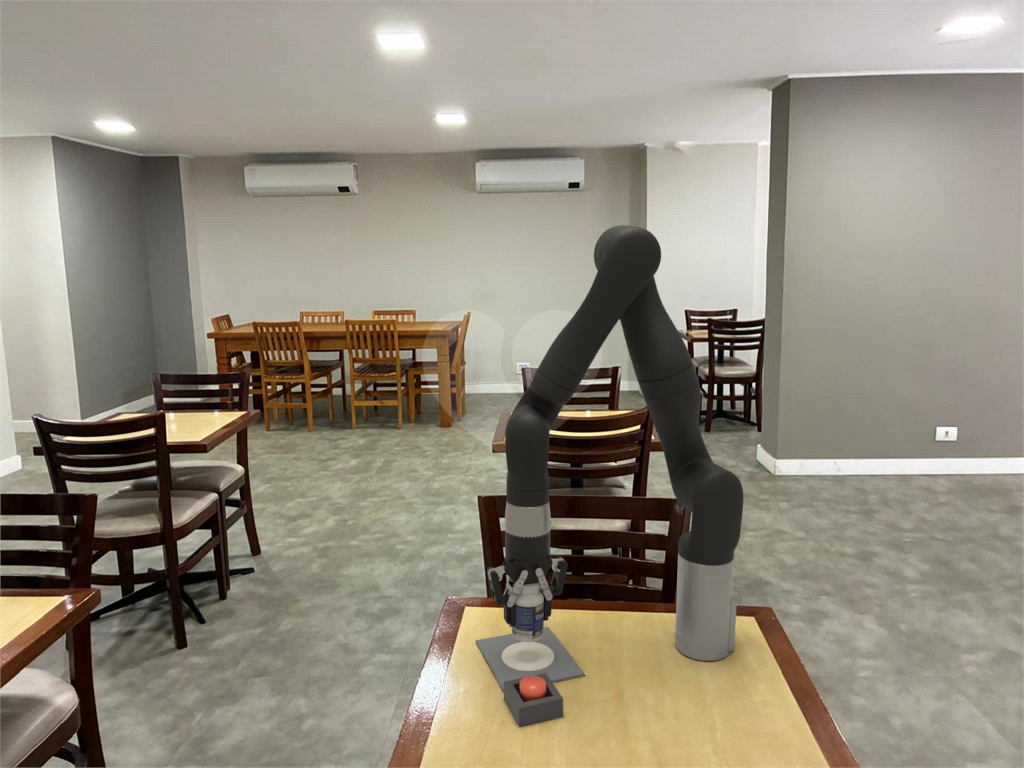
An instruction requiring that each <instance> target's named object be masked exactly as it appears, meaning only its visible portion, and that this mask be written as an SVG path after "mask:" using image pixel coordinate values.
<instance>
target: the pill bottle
mask: <svg viewBox="0 0 1024 768" xmlns="http://www.w3.org/2000/svg"><path fill="white" fill-rule="evenodd" d="M514 606H515V626H514V627H511V634H512V635H513V637H514V638H515V639H517V640H519V641H522V642H534V641H537V640H539V639H541V638H542V636H543V628H544V624H545V623H544V622H545V621H544V597H543V594H542V593H541V592H540V584H539V583H533V584H526V585H523V586H522V588H521V591H520V593H519V595H517V597H516V600H515V602H514Z"/></svg>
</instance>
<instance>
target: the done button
mask: <svg viewBox="0 0 1024 768" xmlns="http://www.w3.org/2000/svg"><path fill="white" fill-rule="evenodd" d="M520 698H521V699H522V700H523V701H524V702H527V701H532V700H537V699H541V698H546V681H545V680H544V679H543V678H541V677H539V676H527V677H524V678H522V679H521V681H520Z"/></svg>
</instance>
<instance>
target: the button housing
mask: <svg viewBox="0 0 1024 768" xmlns="http://www.w3.org/2000/svg"><path fill="white" fill-rule="evenodd" d="M534 676H539V677H541V678H543V679H544V680H545V681H546V698H541V699H537V700H532V701H527V702H524V701H523V700H522V699H521V698H520V681H521V679H522V678H519V679H514V680H510V681H505V682H504V693H503V701H504V702H505V704H506V706H507V708H508V710H509V712H510V713H511V715H512V716H513V719H514V721H515V722H516V724H517V726H518V727H519V728H520V727H525V726H528V725H529V726H530V725H533V724H538V723H541V722H547V721H550V720H555V719H560V718H564V697H563V695H561V693H560V692H559V690H558V689H557V687H556V686H555V685H554V683H552V681H551V680H550V678H549V677H548V676H547V674H546V673H543V674H538V675H534Z"/></svg>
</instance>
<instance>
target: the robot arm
mask: <svg viewBox="0 0 1024 768" xmlns="http://www.w3.org/2000/svg"><path fill="white" fill-rule="evenodd" d="M661 260H662V249H661V246H660V242H659V241H658V239H657V237H656V236H655V235H654V234H653V233H652V232H651V231H649V230H648V229H645V228H643V227H639V226H635V225H625V224H624V225H623V224H622V225H615V226H611V227H609V228H608V229H606V230H605V231H604V232H603V233H601V234H600V236H599V237H598V239H597V240H596V243H595V245H594V251H593V262H594V265H595V268H596V270H597V272H596V275H595V277H594V279H593V282H592V284H591V286H590V288H589V291H588V292H587V294H586V296H585V298H584V299H583V301H582V303H581V305H580V306H579V308H578V309H577V311H576V312H575V313H574V315H573V316H572V317H571V318H570V320H569V321H568V322H567V324H565V326H564V327H563V328H562V329H561V331H559V333H558V335H557V336H556V337H555V338H554V341H553V342H552V343H551V345H550V346H549V348H548V349H547V351H546V353H545V355H544V356H543V358H542V360H541V362H540V364H539V366H538V367H537V369H536V371H535V373H534V375H533V376H532V377H533V378H532V379H531V383H530V384H529V386H528V387H527V388H526V390H525V391H524V393H523V395H522V396H521V398H520V399H519V401H518V402H517V404H516V405H515V406H514V409H513V410H512V412H511V413H510V416H509V417H508V420H507V423H506V425H505V431H504V432H505V433H504V448H505V457H506V468H507V472H506V474H507V475H506V501H505V502H506V505H505V512H504V530H505V531H504V547H505V548H504V556H505V558H504V561H503V563H502V565H500V566H497V567H493V566H488V567H487V569H486V573H487V579H488V582H489V587H490V588H489V589H490V592H491V597H492V599H493V600H494V601H495V603H496V604H497V606H502V605H503V619H504V621H505V623H506V624H507V625H508V626H509V627H510V628H512V627H514V626H515V606H514V602H515V600H516V597H517V595H519V593H520V591H521V588H522V586H523V585H526V584H533V583H539V584H540V589H539V591H540V592H541V593H542V594H543V597H544V622H546V621H549V618H550V617H551V615H552V599H553V598H554V597H556V596H561V595H562V593H563V592H564V587H565V581H566V575H567V570H568V566H569V565H568V562H567V561H566V560H565V559H564V558H563V557H562V556H556V557H555V558H552V557H551V554H550V553H551V526H552V520H551V508H550V474H549V471H548V468H549V467H548V465H549V451H550V449H549V447H550V431H551V429H552V427H553V425H554V423H555V422H556V419H557V418H558V416H559V414H560V412H561V411H562V409H563V407H564V406H565V405H566V404H567V403H568V402H569V401H570V400H571V398H572V397H573V395H574V394H575V393H576V391H577V389H578V387H579V385H581V382H582V381H583V378H584V377H585V375H586V373H588V371H589V369H590V366H591V365H592V363H593V361H594V359H595V358H596V357H597V354H598V353H599V351H600V349H601V348H602V346H603V344H604V343H605V341H606V340H607V338H608V336H609V335H610V333H611V332H612V331H613V329H614V328H615V326H616V324H617V323H618V322H619V321H620V324H621V325H620V326H621V328H622V332H623V335H624V340H625V343H626V347H627V350H628V353H629V358H630V361H631V364H632V367H633V370H634V375H635V377H636V380H637V383H638V386H639V389H640V391H641V394H642V398H643V400H644V402H645V405H646V407H647V410H648V412H649V416H650V419H651V420H652V424H653V425H654V429H655V431H656V433H657V436H658V439H659V442H660V444H661V446H662V451H663V455H664V458H665V463H666V467H667V470H668V471H667V472H668V477H669V481H670V485H671V489H672V492H673V494H674V496H675V499H676V500H677V501H678V503H679V504H680V505H681V506H682V507H683V508H685V509H686V510H687V511H689V512H691V522H690V530H688V531H686V532H684V533H682V534H681V535H680V537H679V539H678V545H677V547H678V550H677V551H678V553H677V575H676V576H677V577H676V578H677V579H676V580H677V581H676V583H677V584H676V606H675V607H676V609H675V610H676V611H675V633H674V637H675V638H674V647H675V648H676V649H677V651H678V652H679V653H681V654H682V655H684V656H686V657H687V658H690V659H693V660H697V661H701V662H702V661H703V662H713V661H714V662H715V661H720V660H722V659H725V658H726V657H727V656H728V655H729V653H730V652H734V651H735V641H736V638H735V637H736V622H737V621H736V620H737V619H736V618H737V599H736V598H735V597H733V583H734V582H733V580H734V559H735V550H736V548H737V547H738V544H739V541H740V538H741V531H742V520H743V511H744V488H743V485H742V483H741V480H740V478H739V477H738V476H737V475H736V474H735V473H734V472H733V471H730V470H728V469H726V468H725V467H723V466H720V465H719V464H717V463H715V462H714V461H713V460H712V458H711V456H710V454H709V451H708V449H707V447H706V444H705V441H704V439H703V436H702V432H701V427H700V413H701V401H702V399H701V398H702V397H701V385H700V382H699V377H698V375H697V372H696V370H695V366H694V363H693V359H692V357H691V355H690V352H689V350H688V348H687V346H686V343H685V342H684V339H683V338H682V336H681V335H680V333H679V330H678V329H677V327H676V325H675V324H674V322H673V320H672V318H671V317H670V315H669V313H668V312H667V309H666V308H665V306H664V304H663V302H662V299H661V297H660V296H661V295H660V293H659V291H658V287H657V284H656V280H655V275H656V273H657V271H659V270H658V269H659V268H660V264H661V262H662V261H661ZM551 569H552V576H551V582H550V586H549V584H548V581H547V579H546V576H547V574H548V572H549V570H551ZM505 573H506V574H505ZM504 574H505V575H506V576H508V577H507V580H506V583H505V589H504V592H502V588H501V586H502V585H501V583H500V582H501V581H502V580H503V575H504Z"/></svg>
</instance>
